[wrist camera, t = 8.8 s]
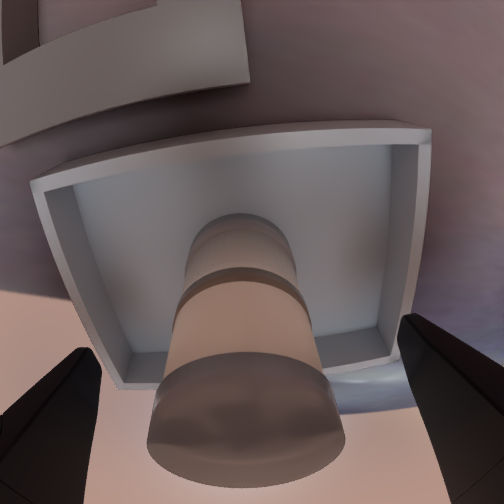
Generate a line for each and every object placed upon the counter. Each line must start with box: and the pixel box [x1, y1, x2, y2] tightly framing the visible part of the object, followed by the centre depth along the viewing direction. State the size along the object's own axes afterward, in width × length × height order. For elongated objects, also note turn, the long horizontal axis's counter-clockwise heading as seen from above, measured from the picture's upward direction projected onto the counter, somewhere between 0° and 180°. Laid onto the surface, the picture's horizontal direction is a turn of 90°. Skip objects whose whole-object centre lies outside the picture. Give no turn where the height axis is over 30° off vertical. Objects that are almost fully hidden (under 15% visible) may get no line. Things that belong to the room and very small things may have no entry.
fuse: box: [147, 213, 345, 488], centre depth 9 cm, size 4×4×8 cm
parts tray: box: [29, 120, 432, 390], centre depth 12 cm, size 13×10×2 cm
